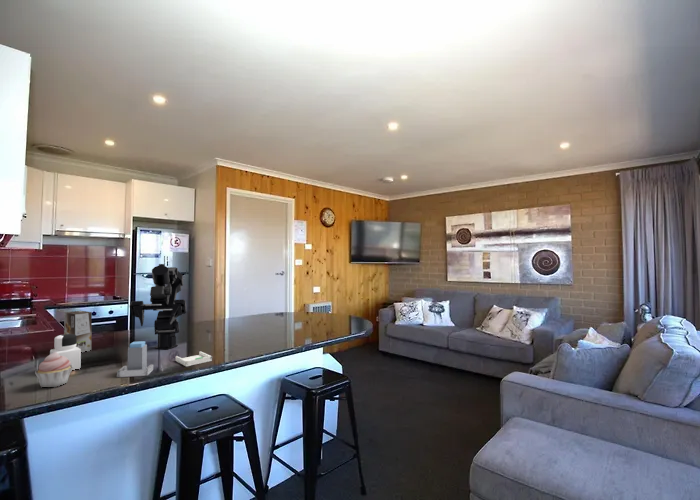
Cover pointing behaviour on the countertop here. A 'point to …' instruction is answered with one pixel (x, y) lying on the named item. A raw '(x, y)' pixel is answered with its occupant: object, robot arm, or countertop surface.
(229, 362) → the countertop surface
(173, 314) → the robot arm
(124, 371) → the shallow white tray
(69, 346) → the medicine bottle
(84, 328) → the coffee box
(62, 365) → the cupcake
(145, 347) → the fibre plug
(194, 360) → the dock tray
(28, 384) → the countertop surface
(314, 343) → the countertop surface
